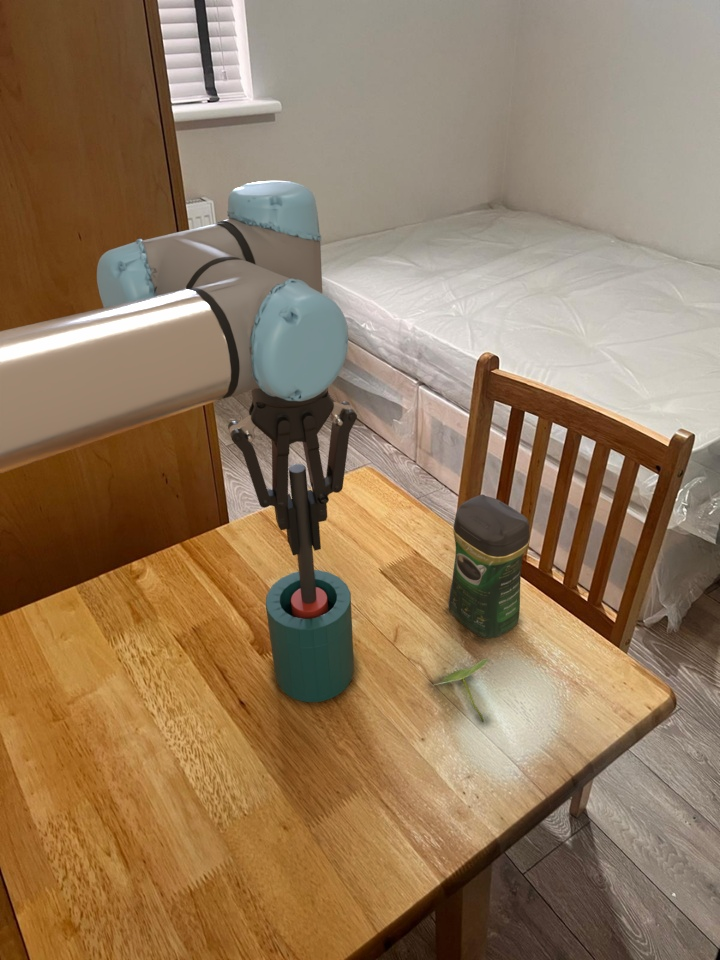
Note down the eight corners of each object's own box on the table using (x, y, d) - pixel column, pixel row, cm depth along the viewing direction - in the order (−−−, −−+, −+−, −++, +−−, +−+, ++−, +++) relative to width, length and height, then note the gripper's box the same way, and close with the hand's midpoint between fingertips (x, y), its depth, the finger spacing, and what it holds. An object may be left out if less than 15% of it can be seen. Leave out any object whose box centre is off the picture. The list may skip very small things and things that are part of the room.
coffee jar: (528, 622, 101) (544, 516, 91) (487, 649, 98) (499, 542, 87) (478, 584, 108) (488, 482, 97) (438, 608, 104) (444, 504, 93)
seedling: (463, 729, 93) (443, 680, 95) (518, 706, 90) (496, 656, 92) (441, 739, 87) (419, 686, 89) (498, 715, 84) (475, 661, 86)
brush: (298, 644, 89) (281, 483, 75) (290, 619, 92) (272, 461, 78) (333, 636, 90) (322, 475, 76) (324, 611, 93) (312, 453, 80)
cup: (285, 711, 90) (275, 638, 83) (268, 651, 98) (258, 580, 91) (363, 690, 93) (361, 617, 85) (341, 633, 101) (337, 562, 93)
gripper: (349, 330, 75) (356, 513, 88) (204, 351, 71) (234, 539, 85) (372, 359, 69) (376, 551, 82) (215, 385, 65) (245, 580, 79)
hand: (304, 544), depth 83 cm, fingers closed on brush, 2 cm apart
